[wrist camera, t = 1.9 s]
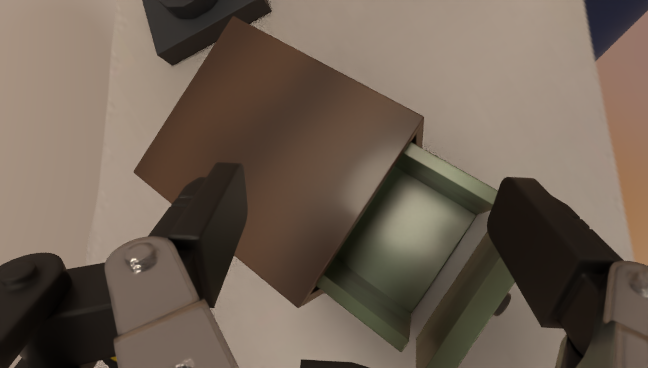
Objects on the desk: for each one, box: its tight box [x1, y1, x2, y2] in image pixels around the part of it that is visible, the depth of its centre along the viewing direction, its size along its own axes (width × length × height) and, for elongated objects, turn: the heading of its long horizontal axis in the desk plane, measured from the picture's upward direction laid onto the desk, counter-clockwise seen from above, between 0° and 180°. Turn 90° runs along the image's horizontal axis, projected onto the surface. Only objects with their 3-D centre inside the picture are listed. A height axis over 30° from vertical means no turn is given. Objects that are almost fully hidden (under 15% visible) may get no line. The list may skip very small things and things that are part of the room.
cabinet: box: [134, 16, 424, 308], centre depth 25 cm, size 15×13×10 cm
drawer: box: [316, 142, 515, 368], centre depth 22 cm, size 15×11×8 cm
